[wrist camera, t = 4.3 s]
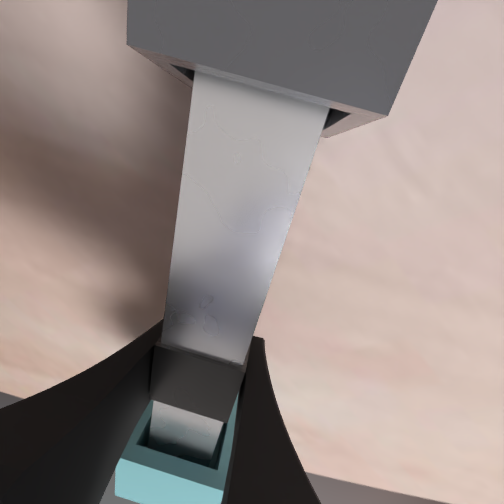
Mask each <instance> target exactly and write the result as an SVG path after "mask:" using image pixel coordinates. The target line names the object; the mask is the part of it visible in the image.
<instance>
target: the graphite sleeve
mask: <svg viewBox="0 0 504 504" xmlns="http://www.w3.org/2000/svg"><path fill="white" fill-rule="evenodd" d="M437 1H438V0H128V10H127V45H128V46H130V47H131V48H133V49H134V50H136V51H137V52H139V53H140V54H142V55H143V56H145V57H146V58H148V59H149V60H151V61H152V62H154V63H155V64H157V65H158V66H160V67H161V68H163V69H164V70H166V71H167V72H169V73H170V74H171V75H173V76H174V77H176V78H177V79H179V80H180V81H182V82H183V83H185V84H186V85H188V86H189V87H191V88H192V89H193V83H194V75H195V71H199V72H202V73H206V74H209V75H213V76H217V77H220V78H224V79H228V80H231V81H235V82H239V83H242V84H246V85H249V86H253V87H257V88H260V89H264V90H268V91H271V92H275V93H279V94H282V95H286V96H289V97H293V98H297V99H300V100H304V101H308V102H311V103H315V104H319V105H322V106H326V107H329V108H330V109H329V112H328V114H327V117H326V120H325V123H324V126H323V129H322V132H321V135H320V136H321V137H325V138H328V137H331V136H334V135H337V134H339V133H342V132H345V131H348V130H351V129H353V128H356V127H359V126H362V125H364V124H367V123H370V122H373V121H375V120H378V119H381V118H384V117H386V116H388V114H389V112H390V110H391V107H392V105H393V103H394V100H395V98H396V96H397V93H398V91H399V89H400V86H401V84H402V82H403V80H404V77H405V75H406V73H407V70H408V68H409V66H410V63H411V61H412V59H413V56H414V54H415V52H416V49H417V47H418V45H419V42H420V40H421V38H422V36H423V33H424V31H425V29H426V26H427V24H428V22H429V19H430V17H431V15H432V12H433V10H434V8H435V5H436V3H437Z"/></svg>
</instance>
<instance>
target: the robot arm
mask: <svg viewBox="0 0 504 504" xmlns="http://www.w3.org/2000/svg"><path fill="white" fill-rule="evenodd" d="M163 322H164V319H163V320H161V321H160V322H159V323H157V324H156V325H155V326H153V327H152V328H151V329H149V330H148V331H146V332H145V333H144V334H142V335H141V336H139V337H138V338H137V339H135V340H134V341H132V342H131V343H129V344H128V345H126V346H125V347H123V348H122V349H120V350H119V351H117V352H116V353H114V354H113V355H111V356H109V357H108V358H106V359H104V360H103V361H101V362H99V363H98V364H96V365H94V366H92V367H91V368H89V369H87V370H85V371H83V372H81V373H80V374H78V375H76V376H74V377H72V378H70V379H68V380H66V381H64V382H61V383H59V384H57V385H55V386H53V387H51V388H49V389H47V390H45V391H42V392H40V393H38V394H35V395H33V396H31V397H28V398H26V399H24V400H21V401H19V402H16V403H14V404H12V405H9V406H6V407H4V408H1V409H0V504H99V503H100V501H101V498H102V496H103V494H104V492H105V489H106V487H107V485H108V483H109V481H110V479H111V476H112V474H113V472H114V470H115V468H116V466H117V464H118V462H119V460H120V458H121V455H122V453H123V451H124V449H125V447H126V445H127V443H128V441H129V439H130V437H131V435H132V433H133V431H134V429H135V427H136V425H137V423H138V421H139V420H140V418H141V416H142V414H143V413H144V411H145V409H146V408H147V406H148V404H149V402H150V401H151V399H149V392H150V383H151V374H152V365H153V356H154V347H155V344H156V342H157V341H158V340H159V338H160V337H161V335H162V330H163ZM264 342H265V341H264V339H263V338H260V337H255V336H252V340H251V345H250V350H249V356H248V361H247V366H246V371H245V375H244V378H243V381H242V383H241V386H240V389H239V393H238V402H237V410H236V418H235V427H234V435H233V443H232V450H231V455H230V461H229V466H228V471H227V476H226V481H225V486H224V492H223V497H222V502H221V504H321V502H320V500H319V499H318V497H317V495H316V493H315V491H314V489H313V487H312V485H311V483H310V481H309V479H308V477H307V475H306V473H305V471H304V469H303V467H302V464H301V462H300V460H299V458H298V455H297V453H296V451H295V449H294V447H293V444H292V442H291V440H290V437H289V435H288V432H287V430H286V427H285V425H284V422H283V419H282V416H281V414H280V411H279V408H278V404H277V401H276V398H275V395H274V391H273V388H272V384H271V380H270V375H269V371H268V366H267V361H266V355H265V344H264Z"/></svg>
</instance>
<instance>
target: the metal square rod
mask: <svg viewBox="0 0 504 504" xmlns="http://www.w3.org/2000/svg"><path fill="white" fill-rule="evenodd" d="M329 109H330V108H329V107H326V106H322V105H319V104H315V103H311V102H308V101H304V100H300V99H297V98H293V97H289V96H286V95H282V94H279V93H275V92H271V91H268V90H264V89H260V88H257V87H253V86H249V85H246V84H242V83H239V82H235V81H231V80H228V79H224V78H220V77H217V76H213V75H209V74H206V73H202V72H199V71H195V75H194V83H193V91H192V99H191V107H190V115H189V123H188V131H187V139H186V147H185V155H184V163H183V171H182V179H181V187H180V194H179V202H178V210H177V218H176V226H175V234H174V242H173V250H172V258H171V266H170V274H169V282H168V290H167V298H166V306H165V314H164V322H163V330H162V335H161V337H160V338H159V340H158V341H157V342H156V344H155V347H154V356H153V365H152V374H151V383H150V392H149V399H151V400H154V402H153V410H152V418H151V426H150V434H149V442H148V448H149V449H152V450H155V451H158V452H162V453H165V454H168V455H171V456H174V457H177V458H180V459H183V460H187V461H190V462H193V463H196V464H199V465H202V466H205V467H208V466H209V464H210V461H211V458H212V455H213V452H214V449H215V446H216V443H217V440H218V437H219V434H220V431H221V428H222V425H223V422H224V423H228V420H229V418H230V415H231V412H232V409H233V406H234V403H235V400H236V398H237V395H238V392H239V389H240V386H241V383H242V381H243V378H244V375H245V371H246V366H247V361H248V356H249V350H250V345H251V340H252V336H253V333H254V330H255V327H256V325H257V322H258V319H259V316H260V313H261V310H262V307H263V304H264V301H265V298H266V295H267V292H268V289H269V286H270V283H271V280H272V277H273V274H274V271H275V268H276V265H277V262H278V259H279V256H280V254H281V251H282V248H283V245H284V242H285V239H286V236H287V233H288V230H289V227H290V224H291V221H292V218H293V215H294V212H295V209H296V206H297V203H298V200H299V197H300V194H301V191H302V188H303V185H304V183H305V180H306V177H307V174H308V171H309V168H310V165H311V162H312V159H313V156H314V153H315V150H316V147H317V144H318V141H319V138H320V135H321V132H322V129H323V126H324V123H325V120H326V117H327V114H328V112H329Z"/></svg>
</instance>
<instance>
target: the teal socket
mask: <svg viewBox="0 0 504 504" xmlns="http://www.w3.org/2000/svg"><path fill="white" fill-rule="evenodd" d="M238 393H239V392H238ZM153 402H154V400H151V401H150V402H149V404H148V406H147V408H146V409H145V411H144V413H143V414H142V416H141V418H140V420H139V421H138V423H137V425H136V427H135V429H134V431H133V433H132V435H131V437H130V439H129V441H128V443H127V445H126V447H125V449H124V451H123V453H122V455H121V458H120V460H119V462H118V464H117V466H116V478H115V479H116V480H115V495H116V496H119V497H122V498H126V499H128V500H132V501H134V502H138V503H141V504H220V503H221V501H222V497H223V492H224V486H225V481H226V476H227V471H228V466H229V461H230V455H231V450H232V443H233V435H234V427H235V418H236V410H237V402H238V395H237V398H236V400H235V403H234V406H233V409H232V412H231V415H230V418H229V420H228V423H224V422H223V425H222V428H221V431H220V434H219V437H218V440H217V443H216V446H215V449H214V452H213V455H212V458H211V461H210V464H209V466H208V467H205V466H202V465H199V464H196V463H193V462H190V461H187V460H183V459H180V458H177V457H174V456H171V455H168V454H165V453H162V452H158V451H155V450H152V449H149V448H148V442H149V434H150V426H151V418H152V410H153Z"/></svg>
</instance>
